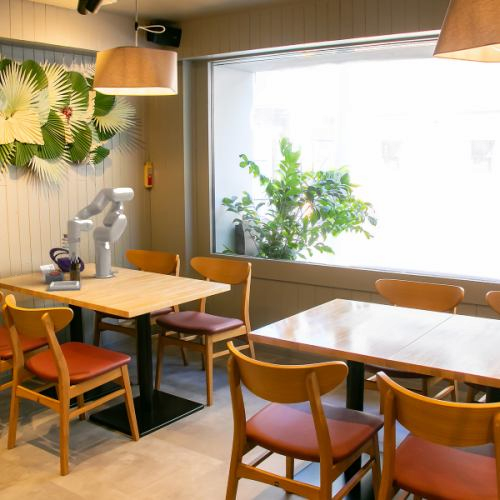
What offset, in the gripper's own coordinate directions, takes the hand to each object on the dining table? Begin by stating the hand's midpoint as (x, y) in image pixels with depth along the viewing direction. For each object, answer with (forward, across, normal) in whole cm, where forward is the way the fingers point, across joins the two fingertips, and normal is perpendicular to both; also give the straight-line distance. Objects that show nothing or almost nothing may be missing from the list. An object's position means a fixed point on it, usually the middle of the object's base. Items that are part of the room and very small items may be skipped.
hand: (74, 268), depth 370 cm
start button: (+5, -3, -11) cm, 13 cm away
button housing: (+8, -3, -11) cm, 14 cm away
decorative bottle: (+7, -40, -7) cm, 42 cm away
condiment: (+8, -1, +1) cm, 8 cm away
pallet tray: (+9, +16, -4) cm, 19 cm away
